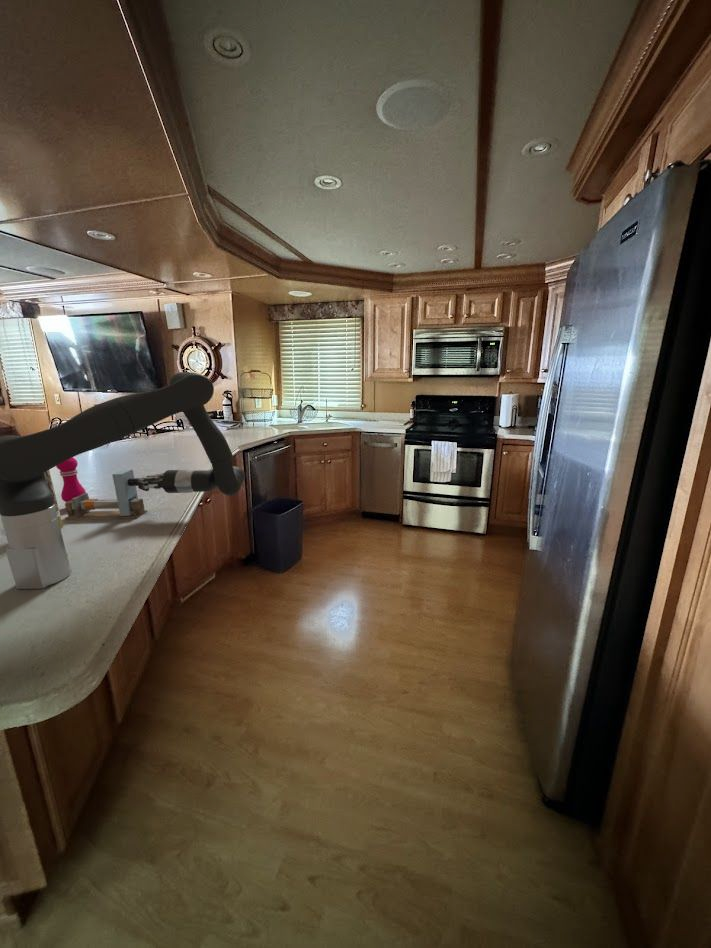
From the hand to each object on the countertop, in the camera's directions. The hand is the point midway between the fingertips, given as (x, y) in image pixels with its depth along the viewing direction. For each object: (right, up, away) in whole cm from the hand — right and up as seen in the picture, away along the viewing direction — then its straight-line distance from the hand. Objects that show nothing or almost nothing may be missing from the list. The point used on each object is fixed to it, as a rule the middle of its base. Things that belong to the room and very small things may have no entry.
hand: (129, 482), depth 123 cm
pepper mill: (-26, -9, +12) cm, 30 cm away
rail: (-9, -11, +3) cm, 15 cm away
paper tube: (-19, -15, -8) cm, 26 cm away
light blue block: (-1, -11, +3) cm, 12 cm away
